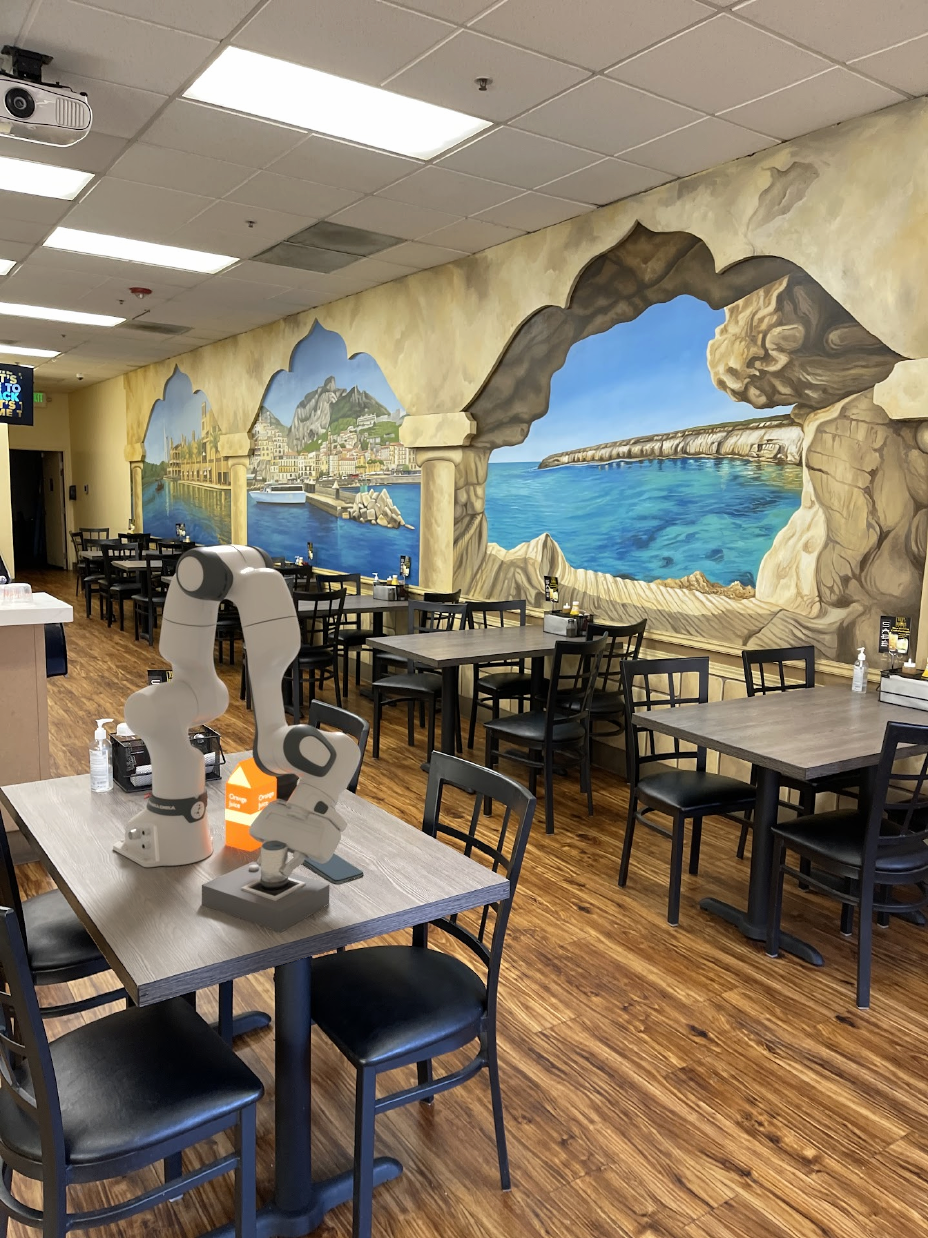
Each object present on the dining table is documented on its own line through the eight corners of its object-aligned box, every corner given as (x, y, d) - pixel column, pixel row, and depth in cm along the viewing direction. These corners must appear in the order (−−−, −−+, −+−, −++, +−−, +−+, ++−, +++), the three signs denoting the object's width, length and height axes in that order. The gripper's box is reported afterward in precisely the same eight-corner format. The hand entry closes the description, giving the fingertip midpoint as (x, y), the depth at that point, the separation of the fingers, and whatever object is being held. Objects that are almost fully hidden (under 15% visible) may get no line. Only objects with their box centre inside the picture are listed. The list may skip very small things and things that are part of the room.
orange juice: (224, 844, 197) (224, 759, 194) (251, 833, 205) (251, 751, 202) (251, 852, 193) (251, 765, 191) (276, 839, 201) (277, 756, 199)
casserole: (212, 794, 232) (212, 764, 231) (272, 781, 245) (272, 752, 244) (262, 819, 214) (262, 786, 213) (324, 804, 227) (324, 773, 226)
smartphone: (335, 881, 178) (298, 856, 189) (335, 889, 178) (298, 863, 189) (365, 872, 182) (327, 848, 194) (365, 879, 183) (327, 855, 194)
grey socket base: (201, 904, 166) (201, 882, 166) (253, 879, 179) (253, 858, 178) (280, 932, 157) (280, 908, 156) (329, 904, 169) (329, 881, 168)
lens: (254, 897, 165) (254, 846, 164) (273, 888, 170) (273, 837, 169) (275, 904, 163) (275, 852, 162) (293, 894, 167) (293, 843, 166)
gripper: (265, 789, 176) (226, 849, 169) (338, 810, 164) (300, 876, 157) (281, 804, 180) (244, 864, 173) (354, 827, 168) (317, 891, 162)
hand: (272, 870), depth 165 cm, fingers closed on lens, 5 cm apart
